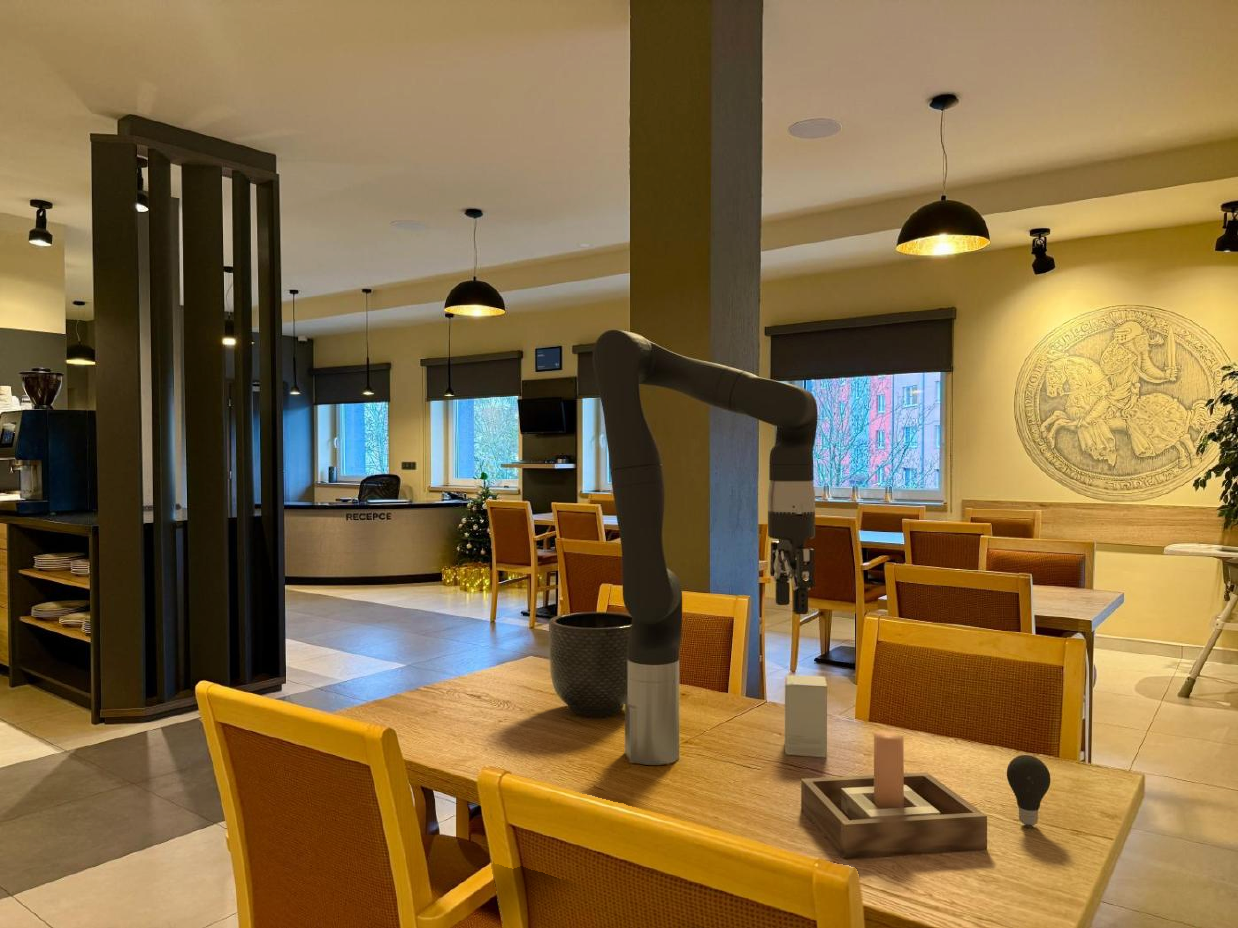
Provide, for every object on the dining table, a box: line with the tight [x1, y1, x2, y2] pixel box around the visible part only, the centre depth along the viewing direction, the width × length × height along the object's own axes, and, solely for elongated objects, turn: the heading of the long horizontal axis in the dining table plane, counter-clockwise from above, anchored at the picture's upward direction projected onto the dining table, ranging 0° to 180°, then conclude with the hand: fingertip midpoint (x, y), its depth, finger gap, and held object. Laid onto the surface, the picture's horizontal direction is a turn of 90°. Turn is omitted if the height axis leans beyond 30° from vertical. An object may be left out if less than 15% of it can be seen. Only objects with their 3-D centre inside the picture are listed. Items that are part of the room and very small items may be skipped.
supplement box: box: [784, 674, 828, 758], centre depth 151 cm, size 7×7×13 cm
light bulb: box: [1006, 754, 1051, 828], centre depth 119 cm, size 6×6×10 cm
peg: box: [873, 731, 905, 809], centre depth 118 cm, size 4×4×12 cm
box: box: [800, 772, 988, 860], centre depth 118 cm, size 20×16×4 cm
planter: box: [548, 611, 632, 719], centre depth 175 cm, size 20×20×19 cm
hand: (791, 609), depth 135 cm, fingers open, 8 cm apart
